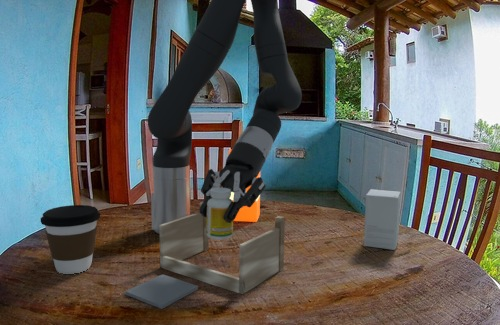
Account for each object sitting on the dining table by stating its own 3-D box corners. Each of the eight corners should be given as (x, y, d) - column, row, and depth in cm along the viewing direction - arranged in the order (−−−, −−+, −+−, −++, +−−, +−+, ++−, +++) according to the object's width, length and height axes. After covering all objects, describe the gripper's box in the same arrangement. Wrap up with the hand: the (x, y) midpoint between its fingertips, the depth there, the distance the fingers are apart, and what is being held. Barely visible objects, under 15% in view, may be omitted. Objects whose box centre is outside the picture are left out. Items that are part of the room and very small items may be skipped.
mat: (125, 294, 75) (125, 291, 75) (162, 277, 82) (162, 274, 82) (161, 308, 70) (161, 305, 70) (198, 289, 77) (198, 286, 77)
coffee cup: (59, 258, 91) (56, 203, 89) (110, 259, 91) (108, 204, 89) (32, 279, 80) (28, 218, 79) (89, 280, 80) (86, 219, 78)
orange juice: (231, 213, 129) (231, 147, 126) (260, 214, 127) (261, 148, 124) (226, 220, 121) (226, 150, 118) (256, 222, 120) (257, 151, 117)
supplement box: (398, 241, 105) (402, 191, 103) (395, 251, 98) (398, 197, 96) (368, 237, 108) (370, 188, 106) (362, 246, 101) (365, 194, 99)
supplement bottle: (201, 234, 86) (201, 188, 85) (222, 230, 90) (223, 185, 88) (216, 242, 82) (217, 194, 81) (238, 237, 86) (239, 190, 84)
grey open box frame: (159, 267, 87) (158, 215, 85) (203, 248, 98) (203, 201, 97) (244, 294, 75) (244, 234, 73) (283, 269, 87) (284, 217, 85)
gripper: (216, 137, 93) (178, 201, 85) (273, 144, 85) (236, 214, 77) (230, 159, 98) (195, 220, 90) (284, 166, 90) (251, 235, 82)
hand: (214, 217), depth 84 cm, fingers closed on supplement bottle, 5 cm apart
